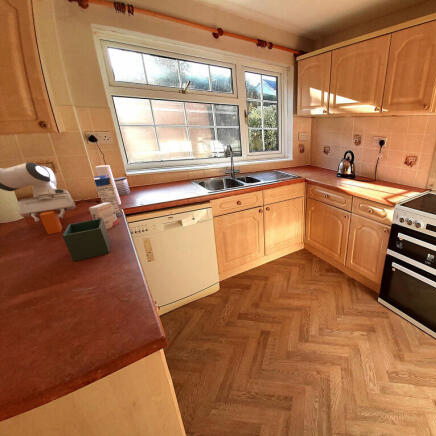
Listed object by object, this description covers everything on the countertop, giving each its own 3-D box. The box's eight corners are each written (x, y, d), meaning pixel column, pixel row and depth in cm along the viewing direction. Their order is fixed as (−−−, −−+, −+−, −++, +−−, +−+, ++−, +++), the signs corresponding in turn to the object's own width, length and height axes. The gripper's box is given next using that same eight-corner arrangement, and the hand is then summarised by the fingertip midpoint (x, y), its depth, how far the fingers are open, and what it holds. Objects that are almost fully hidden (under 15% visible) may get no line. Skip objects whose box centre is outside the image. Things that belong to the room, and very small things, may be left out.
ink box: (111, 223, 128) (104, 201, 124) (119, 223, 127) (112, 202, 123) (96, 230, 121) (87, 207, 116) (104, 230, 120) (96, 207, 115)
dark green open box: (73, 261, 93) (62, 236, 89) (78, 248, 103) (68, 224, 99) (109, 252, 99) (100, 228, 94) (110, 240, 109) (102, 218, 105)
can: (119, 196, 176) (115, 180, 172) (109, 195, 180) (104, 179, 176) (134, 192, 186) (129, 176, 182) (124, 191, 190) (119, 176, 186)
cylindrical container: (106, 205, 158) (93, 166, 148) (118, 202, 163) (106, 164, 154) (110, 207, 154) (97, 167, 145) (123, 203, 159) (111, 165, 150)
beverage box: (107, 218, 135) (94, 179, 126) (106, 213, 143) (93, 176, 134) (121, 215, 139) (109, 177, 130) (119, 210, 147) (108, 174, 138)
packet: (48, 234, 117) (39, 215, 114) (50, 230, 122) (42, 211, 118) (60, 232, 120) (52, 213, 116) (62, 228, 124) (54, 209, 121)
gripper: (13, 196, 114) (15, 222, 110) (69, 189, 124) (73, 212, 120) (21, 203, 119) (23, 227, 115) (74, 195, 129) (78, 218, 125)
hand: (49, 220), depth 118 cm, fingers open, 7 cm apart
